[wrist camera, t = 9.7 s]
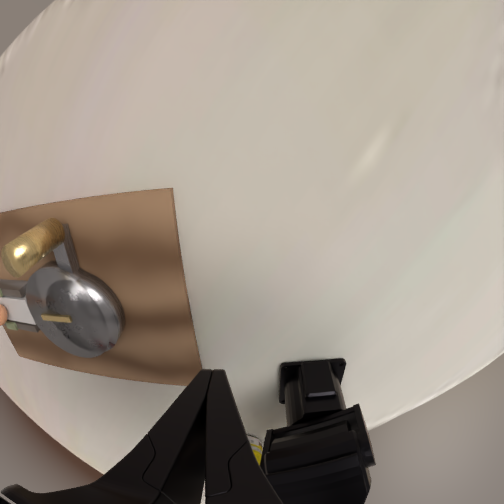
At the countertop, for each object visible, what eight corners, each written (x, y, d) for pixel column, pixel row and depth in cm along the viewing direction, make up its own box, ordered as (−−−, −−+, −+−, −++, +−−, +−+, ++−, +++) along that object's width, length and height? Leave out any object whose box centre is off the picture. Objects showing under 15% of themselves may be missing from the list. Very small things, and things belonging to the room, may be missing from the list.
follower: (44, 315, 24) (24, 338, 20) (4, 309, 24) (-14, 328, 20) (34, 291, 23) (11, 313, 19) (-5, 287, 23) (-25, 306, 19)
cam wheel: (61, 207, 19) (7, 238, 13) (150, 316, 23) (124, 372, 17) (12, 274, 22) (-26, 308, 16) (83, 357, 26) (59, 400, 20)
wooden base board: (205, 382, 28) (201, 403, 25) (21, 353, 29) (11, 366, 26) (172, 187, 20) (160, 197, 17) (-32, 220, 20) (-48, 229, 18)
